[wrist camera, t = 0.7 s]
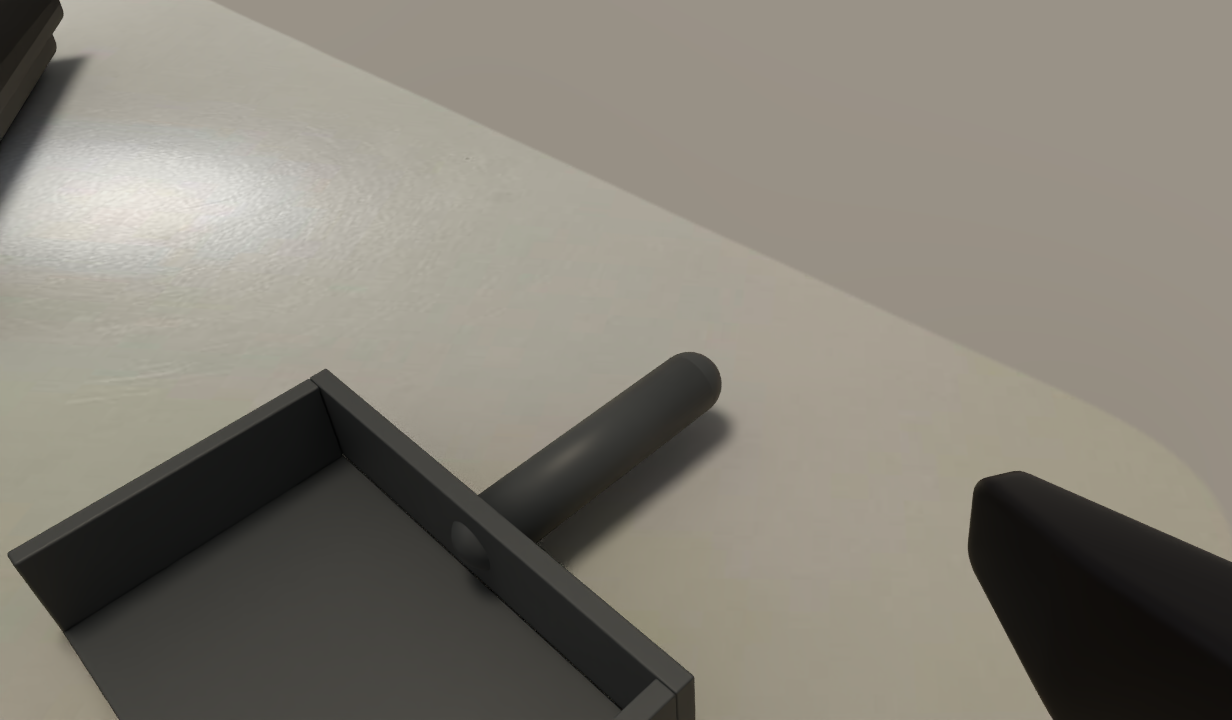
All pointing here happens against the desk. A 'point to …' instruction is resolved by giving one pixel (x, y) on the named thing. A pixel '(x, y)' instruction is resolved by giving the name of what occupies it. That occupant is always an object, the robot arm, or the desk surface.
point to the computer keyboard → (24, 50)
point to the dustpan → (361, 572)
